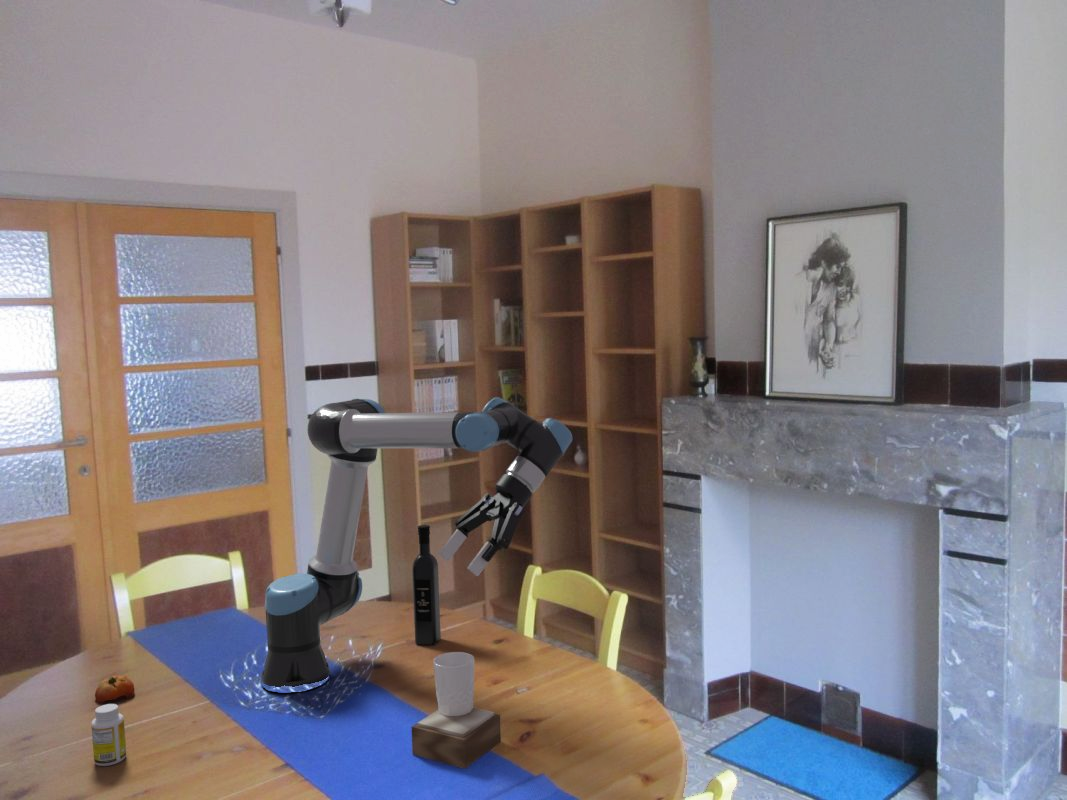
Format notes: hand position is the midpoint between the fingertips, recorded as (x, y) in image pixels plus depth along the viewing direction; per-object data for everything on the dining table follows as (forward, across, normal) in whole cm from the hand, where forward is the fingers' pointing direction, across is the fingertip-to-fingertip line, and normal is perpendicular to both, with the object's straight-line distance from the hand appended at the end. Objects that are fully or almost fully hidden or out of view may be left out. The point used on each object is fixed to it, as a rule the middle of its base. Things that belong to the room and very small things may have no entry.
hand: (456, 565), depth 181 cm
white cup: (+22, -9, -14) cm, 28 cm away
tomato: (+65, +53, +20) cm, 86 cm away
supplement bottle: (+68, +20, +23) cm, 74 cm away
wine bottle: (+14, +44, -31) cm, 56 cm away
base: (+27, -12, -17) cm, 35 cm away
